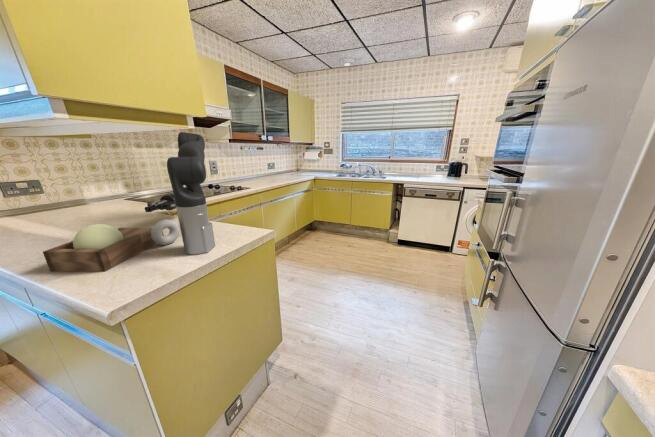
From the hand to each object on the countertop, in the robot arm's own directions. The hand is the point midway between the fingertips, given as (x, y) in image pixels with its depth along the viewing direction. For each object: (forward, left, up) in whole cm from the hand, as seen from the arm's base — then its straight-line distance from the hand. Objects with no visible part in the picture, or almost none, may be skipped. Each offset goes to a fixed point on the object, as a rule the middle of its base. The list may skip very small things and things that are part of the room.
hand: (146, 209), depth 96 cm
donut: (-14, +10, -11) cm, 20 cm away
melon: (0, +22, -5) cm, 23 cm away
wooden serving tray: (0, +18, -11) cm, 21 cm away
